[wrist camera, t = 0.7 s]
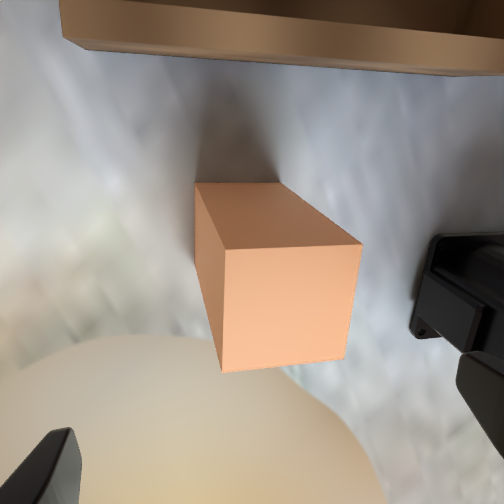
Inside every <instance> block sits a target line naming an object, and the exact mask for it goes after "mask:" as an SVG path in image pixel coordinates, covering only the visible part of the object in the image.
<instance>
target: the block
mask: <svg viewBox="0 0 504 504" xmlns="http://www.w3.org/2000/svg"><path fill="white" fill-rule="evenodd" d="M362 247H363V244H362V243H361V242H359V241H358V240H356V239H355V238H354V237H352V236H351V235H350V234H348V233H347V232H346V231H344V230H343V229H342V228H340V227H339V226H338V225H336V224H335V223H334V222H332V221H331V220H330V219H328V218H327V217H326V216H324V215H323V214H322V213H320V212H319V211H318V210H316V209H315V208H314V207H312V206H311V205H310V204H308V203H307V202H306V201H304V200H303V199H302V198H300V197H299V196H298V195H296V194H295V193H294V192H292V191H291V190H290V189H288V188H287V187H286V186H284V185H283V184H282V183H195V267H196V271H197V275H198V279H199V283H200V287H201V291H202V295H203V299H204V303H205V307H206V311H207V315H208V319H209V323H210V327H211V331H212V335H213V339H214V343H215V347H216V351H217V355H218V359H219V363H220V367H221V371H222V373H225V372H234V371H243V370H250V369H251V370H252V369H260V368H270V367H278V366H287V365H296V364H305V363H314V362H323V361H332V360H341V359H344V355H345V349H346V343H347V337H348V331H349V325H350V319H351V313H352V307H353V301H354V295H355V289H356V283H357V277H358V271H359V265H360V259H361V253H362Z"/></svg>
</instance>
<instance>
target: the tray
mask: <svg viewBox="0 0 504 504" xmlns="http://www.w3.org/2000/svg"><path fill="white" fill-rule="evenodd" d="M59 7H60V16H61V25H62V34H63V37H64V38H66V39H67V40H69V41H71V42H73V43H75V44H76V45H78V46H80V47H82V48H84V49H86V50H93V51H107V52H121V53H135V54H149V55H162V56H176V57H190V58H204V59H217V60H231V61H245V62H259V63H272V64H286V65H300V66H314V67H328V68H341V69H355V70H369V71H383V72H396V73H410V74H424V75H438V76H451V77H458V76H497V75H504V0H59Z"/></svg>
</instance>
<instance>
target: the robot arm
mask: <svg viewBox="0 0 504 504" xmlns="http://www.w3.org/2000/svg"><path fill="white" fill-rule="evenodd" d="M441 242H443V244H442V245H441V246H440V244H441ZM419 330H420V331H419ZM411 334H412V335H413V336H414V337H415V338H417V339H428V338H438V337H443V338H445V339H446V340H447V341H448V342H449V343H450V344H452V345H453V346H454V347H455V348H456V349H457V350H459V351H460V352H461V353H462V355H461V356H460V359H459V364H458V369H457V375H456V386H457V388H458V390H459V392H460V394H461V395H462V397H463V398H464V400H465V402H466V403H467V405H468V406H469V408H470V409H471V411H472V413H473V414H474V416H475V417H476V419H477V420H478V422H479V424H480V425H481V427H482V428H483V430H484V431H485V433H486V435H487V436H488V438H489V439H490V441H491V442H492V444H493V445H494V447H495V448H496V449H497V451H498V452H499V454H500V455H501V456H502V458H503V459H504V232H484V233H455V234H439V235H437V236H435V237H434V238H433V239H432V242H431V245H430V249H429V254H428V258H427V262H426V266H425V270H424V275H423V279H422V283H421V287H420V292H419V296H418V300H417V304H416V309H415V313H414V317H413V321H412V326H411ZM81 470H82V458H81V454H80V450H79V447H78V443H77V440H76V436H75V433H74V431H73V429H72V428H70V427H66V428H61V429H56V430H52V431H50V432H49V433H48V434H47V435H46V436H45V437H44V438H43V439H42V440H41V442H40V443H39V444H38V445H37V446H36V447H35V448H34V449H33V451H32V452H31V453H30V454H29V455H28V456H27V457H26V459H25V460H24V461H23V462H22V463H21V464H20V465H19V466H18V468H17V469H16V470H15V471H14V472H13V473H12V474H11V476H10V477H9V478H8V479H7V480H6V481H5V482H4V484H3V485H2V486H1V487H0V504H78V501H79V491H80V480H81Z"/></svg>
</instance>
